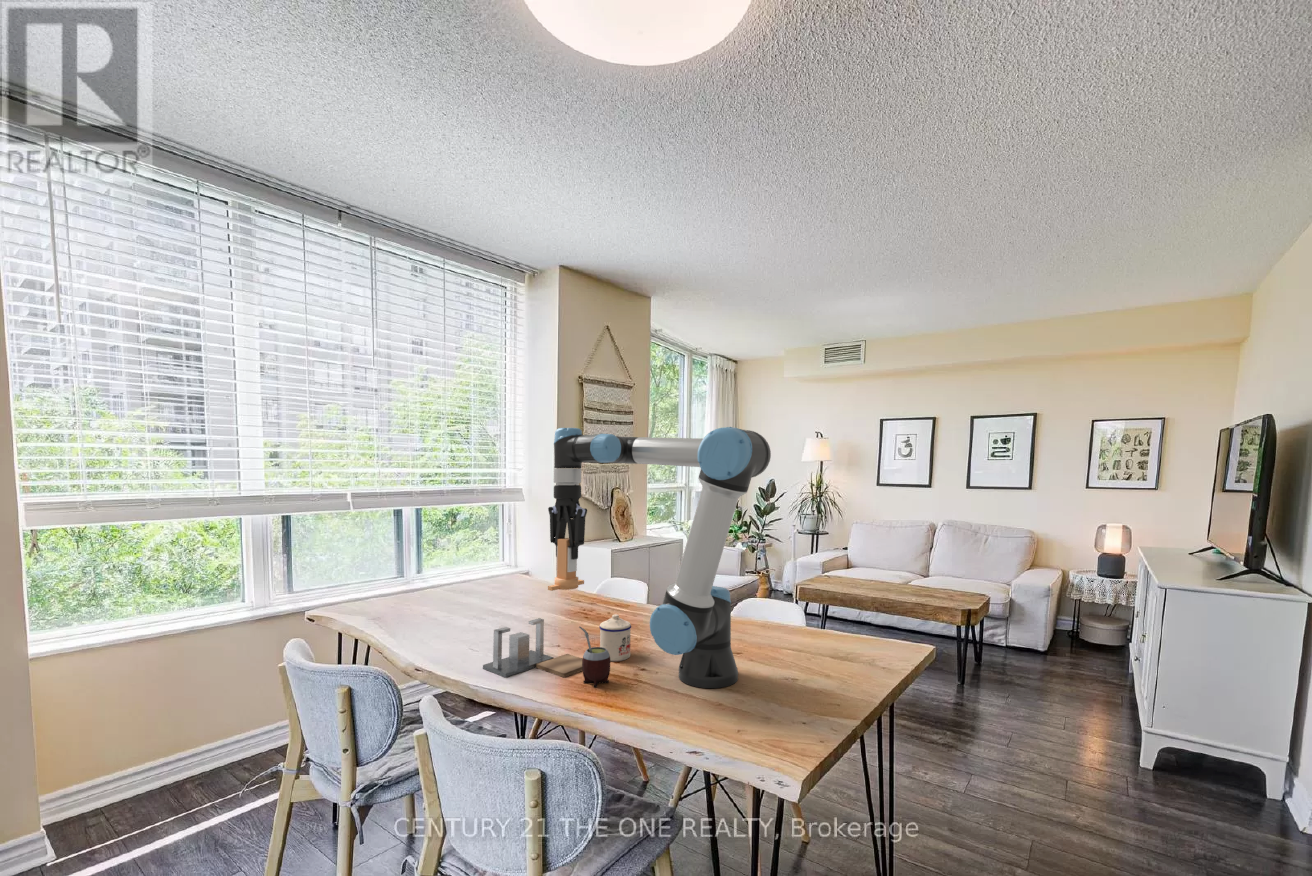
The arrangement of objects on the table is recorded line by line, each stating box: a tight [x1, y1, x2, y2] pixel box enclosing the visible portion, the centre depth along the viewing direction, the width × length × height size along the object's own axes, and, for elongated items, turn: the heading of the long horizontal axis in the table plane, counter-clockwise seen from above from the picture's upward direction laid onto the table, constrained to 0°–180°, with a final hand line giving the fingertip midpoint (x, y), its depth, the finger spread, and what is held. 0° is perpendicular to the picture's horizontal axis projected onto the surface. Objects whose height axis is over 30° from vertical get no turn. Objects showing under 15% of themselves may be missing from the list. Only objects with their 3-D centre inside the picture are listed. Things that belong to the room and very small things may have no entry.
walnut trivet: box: [535, 653, 583, 678], centre depth 150 cm, size 11×11×1 cm
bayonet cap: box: [547, 537, 585, 592], centre depth 152 cm, size 12×6×13 cm, turn 140°
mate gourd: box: [578, 626, 612, 688], centre depth 139 cm, size 8×8×15 cm
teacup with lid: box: [599, 613, 632, 662], centre depth 160 cm, size 12×9×12 cm
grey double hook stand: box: [482, 617, 555, 678], centre depth 152 cm, size 16×10×11 cm, turn 141°
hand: (566, 570), depth 152 cm, fingers closed on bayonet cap, 4 cm apart
